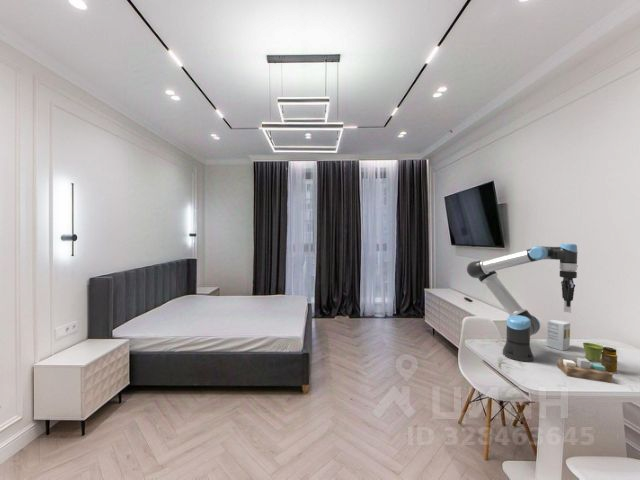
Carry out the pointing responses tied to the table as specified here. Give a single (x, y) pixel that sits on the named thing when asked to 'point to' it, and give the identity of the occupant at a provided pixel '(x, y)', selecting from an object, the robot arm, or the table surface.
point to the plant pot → (593, 351)
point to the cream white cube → (569, 363)
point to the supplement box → (558, 334)
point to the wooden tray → (585, 372)
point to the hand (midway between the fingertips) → (567, 311)
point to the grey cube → (583, 363)
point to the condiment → (609, 360)
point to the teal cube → (598, 367)
